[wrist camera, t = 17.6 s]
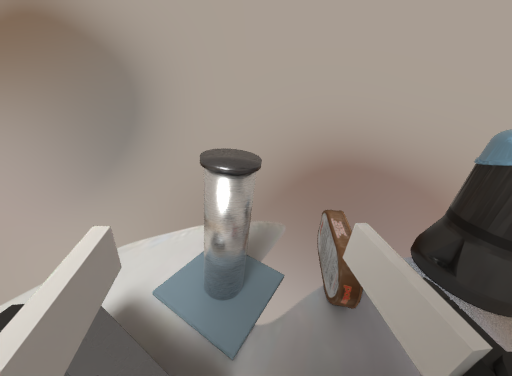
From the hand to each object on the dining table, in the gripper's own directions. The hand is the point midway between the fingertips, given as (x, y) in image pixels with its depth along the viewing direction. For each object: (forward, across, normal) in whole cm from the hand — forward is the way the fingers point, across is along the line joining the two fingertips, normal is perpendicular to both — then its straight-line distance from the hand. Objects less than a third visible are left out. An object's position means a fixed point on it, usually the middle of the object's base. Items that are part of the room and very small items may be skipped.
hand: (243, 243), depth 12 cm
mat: (+10, -1, -16) cm, 19 cm away
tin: (+12, +15, -17) cm, 25 cm away
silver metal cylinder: (+10, -1, -16) cm, 18 cm away
